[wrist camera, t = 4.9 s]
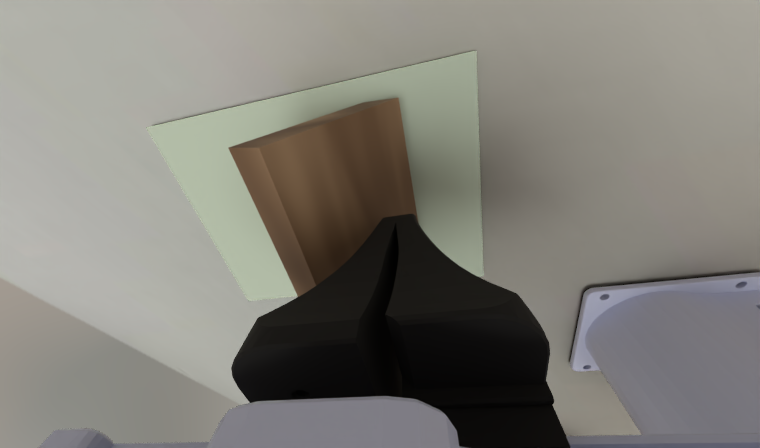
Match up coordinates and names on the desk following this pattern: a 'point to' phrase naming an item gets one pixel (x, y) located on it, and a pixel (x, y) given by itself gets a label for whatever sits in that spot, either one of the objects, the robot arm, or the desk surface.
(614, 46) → the desk surface
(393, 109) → the wooden block
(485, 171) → the desk surface
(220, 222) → the mat
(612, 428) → the desk surface
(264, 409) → the robot arm
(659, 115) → the desk surface
